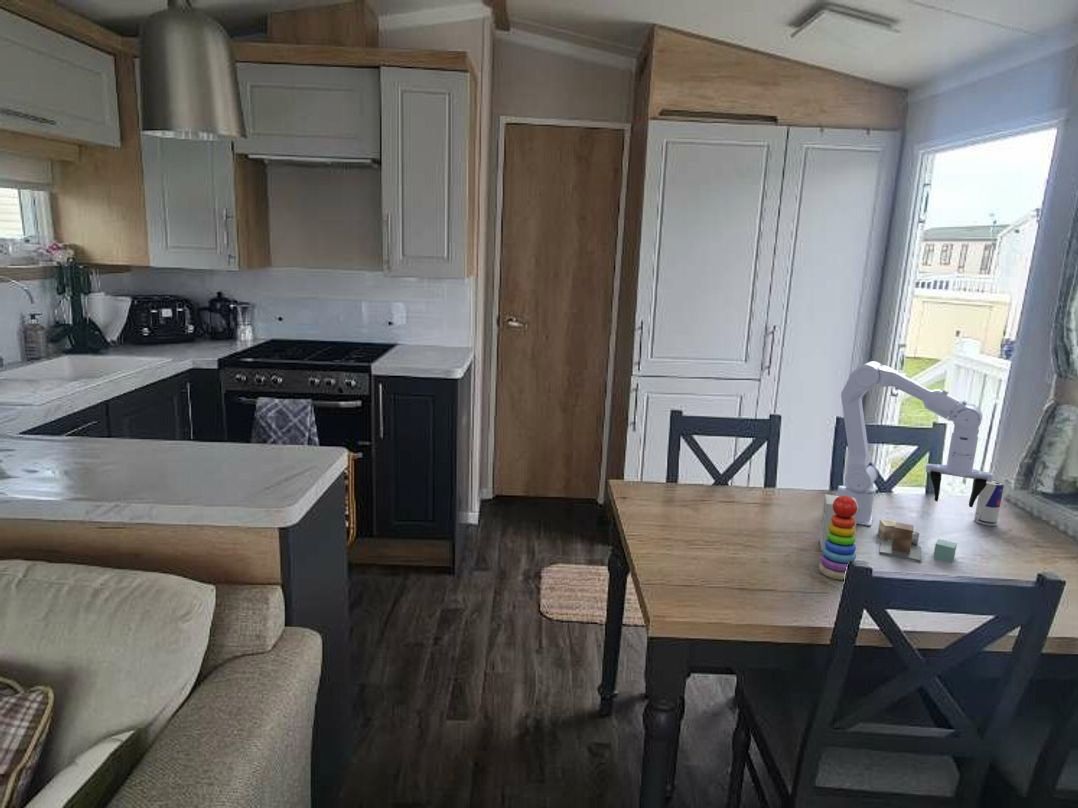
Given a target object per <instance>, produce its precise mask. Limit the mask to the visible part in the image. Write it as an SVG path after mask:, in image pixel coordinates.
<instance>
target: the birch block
mask: <svg viewBox="0 0 1078 808" xmlns="http://www.w3.org/2000/svg"><path fill="white" fill-rule="evenodd" d="M895 522H897V521H896V520H891V519H890V520H887V519H880V520H879V523H878V530H877V531H878V532H877V534H878V537H880V538H881V540H882V539H885V540H890V541H893V535H894V529H895Z"/></svg>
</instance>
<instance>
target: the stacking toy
mask: <svg viewBox="0 0 1078 808" xmlns="http://www.w3.org/2000/svg"><path fill="white" fill-rule="evenodd" d="M833 510H834V512H835V515H833V516H832V518H831V521H832V523H831V524H830V525H829V532H828V533H827V538H828V539H827V540H826V541H825V546H826V547H824V549H823V551H822V555H821V556H820V562H819V564H818V571H820V572H821V574H822V575H824V576H826V577H827V578H830V579H834V580H840V581H844V580H843V579H844V575H845V571H846V567H847V564H848V562H849V561H855V560H856V559H857V553H856V550H857V546H856V544H855V542H856V535H855V536H854V533H855V534H856V531H855V529H854V527H853V526H854V525H855V519H854V518H853V517H852V516H853V515H854V514H855V513H856V511H857V504H856V502H855V500H854V499H853V498H851V497H849V496H839V497H837V498H836V499H835V500H834V502H833Z"/></svg>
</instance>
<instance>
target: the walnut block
mask: <svg viewBox="0 0 1078 808" xmlns="http://www.w3.org/2000/svg"><path fill="white" fill-rule="evenodd" d="M913 531H914V524H907V523H902V522H898V521H896V522H895V529H894V535H893V540H892V541H893V542H892V550H895V551H900V552H905V553H910V548H911V542H912V536H913Z"/></svg>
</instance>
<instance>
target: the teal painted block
mask: <svg viewBox="0 0 1078 808" xmlns="http://www.w3.org/2000/svg"><path fill="white" fill-rule="evenodd" d="M957 544H958V543H957V542H954V541H950V540H949V541H948V540H945V539H941V538H938V539H937V541H936V542H935V544H934V545H935V546H934V550H933V556H932V557H933V558H932V559H934V560H937V561H941V562H946V563H949V564H953V562H954V560H955V557H956V551H957Z"/></svg>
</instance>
